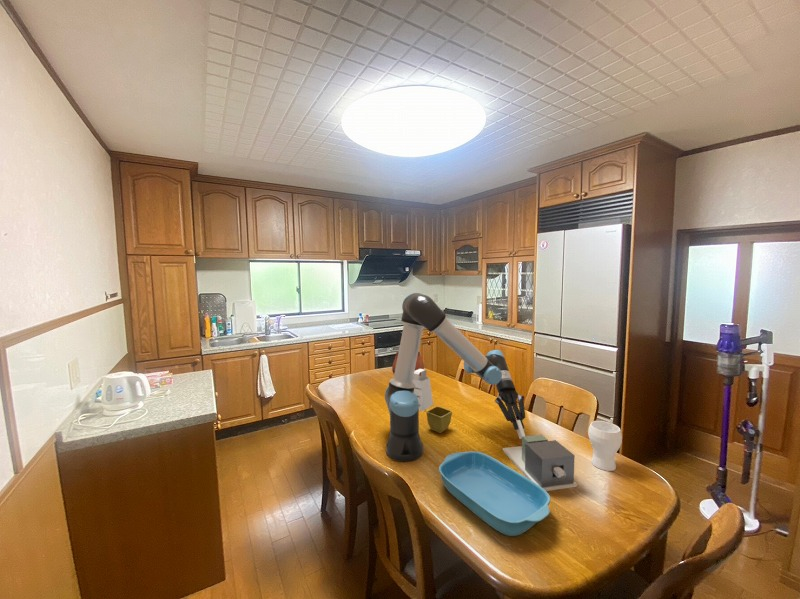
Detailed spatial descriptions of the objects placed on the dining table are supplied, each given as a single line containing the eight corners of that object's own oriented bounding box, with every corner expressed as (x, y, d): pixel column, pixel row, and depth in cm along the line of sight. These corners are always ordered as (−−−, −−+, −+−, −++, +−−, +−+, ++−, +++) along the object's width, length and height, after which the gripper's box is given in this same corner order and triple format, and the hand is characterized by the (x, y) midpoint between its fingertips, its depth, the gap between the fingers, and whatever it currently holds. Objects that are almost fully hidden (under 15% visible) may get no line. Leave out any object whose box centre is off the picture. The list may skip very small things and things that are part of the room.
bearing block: (524, 469, 118) (525, 443, 117) (554, 466, 120) (555, 440, 119) (541, 487, 108) (542, 459, 107) (573, 483, 110) (574, 455, 109)
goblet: (430, 394, 194) (429, 353, 192) (401, 400, 186) (400, 357, 183) (414, 384, 211) (414, 347, 209) (387, 389, 203) (387, 350, 201)
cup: (621, 477, 115) (623, 436, 113) (586, 467, 120) (588, 428, 119) (619, 462, 124) (621, 424, 122) (587, 454, 129) (589, 417, 128)
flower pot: (452, 429, 151) (452, 410, 150) (441, 436, 144) (441, 417, 144) (437, 423, 157) (437, 405, 156) (425, 430, 150) (425, 411, 150)
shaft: (521, 459, 124) (522, 436, 123) (540, 456, 125) (541, 434, 124) (550, 489, 106) (551, 463, 106) (572, 486, 108) (573, 460, 107)
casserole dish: (565, 521, 95) (566, 498, 95) (519, 560, 83) (519, 534, 82) (471, 461, 125) (471, 444, 125) (426, 483, 113) (426, 464, 112)
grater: (406, 407, 177) (406, 371, 175) (417, 400, 185) (417, 366, 183) (423, 411, 170) (422, 374, 169) (433, 405, 179) (433, 369, 177)
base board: (502, 450, 133) (502, 448, 132) (534, 447, 135) (534, 444, 135) (539, 491, 107) (539, 489, 107) (577, 486, 110) (577, 484, 110)
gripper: (492, 379, 141) (510, 435, 126) (521, 378, 143) (541, 433, 128) (487, 387, 146) (504, 441, 131) (514, 385, 148) (533, 439, 133)
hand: (522, 437), depth 130 cm, fingers closed
